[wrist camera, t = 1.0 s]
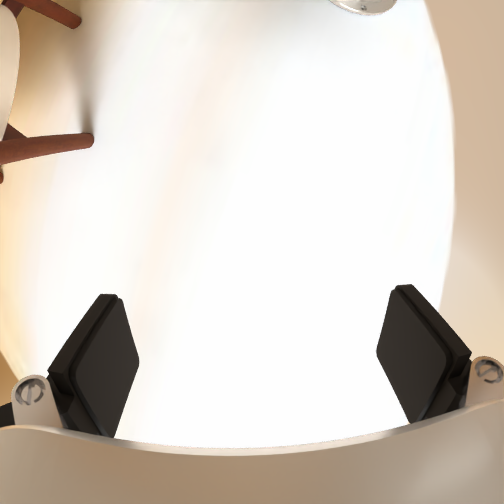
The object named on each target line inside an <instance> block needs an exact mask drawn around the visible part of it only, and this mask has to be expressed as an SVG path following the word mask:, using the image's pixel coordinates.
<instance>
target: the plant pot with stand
mask: <svg viewBox="0 0 504 504" xmlns="http://www.w3.org/2000/svg"><path fill="white" fill-rule="evenodd" d="M24 6H26V7H28V8H30V9H32V10H35V11H37V12H39V13H41V14H43V15H45V16H47V17H49V18H52V19H54V20H56V21H58V22H60V23H62V24H64V25H65V26H67V27H69V28H71V29H75V28H77V27H78V26H79V25H80V23H81V18H80V17H78V16H77V15H75V14H73V13H72V12H70V11H69V10H67V9H65V8H63V7H62V6H60V5H58V4H57V3H55V2H53V1H51V0H3V2H2V3H1V4H0V165H3V164H7V163H11V162H15V161H20V160H24V159H29V158H34V157H39V156H44V155H49V154H55V153H60V152H66V151H72V150H79V149H85V148H90V147H91V146H92V145H93V143H94V137H93V135H92V134H90V133H79V134H63V135H50V136H39V137H30V138H27V137H26V136H24V135H23V134H21V133H20V132H19V131H17V130H16V129H15V128H13V127H12V126H11V125H9V124H8V119H9V115H10V112H11V107H12V103H13V99H14V94H15V89H16V83H17V77H18V69H19V58H20V38H19V30H18V25H17V22H16V17H17V16H18V14H19V13H20V11H21V10H22V8H23V7H24ZM2 182H3V174H2V173H1V172H0V184H1V183H2Z"/></svg>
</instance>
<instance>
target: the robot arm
mask: <svg viewBox="0 0 504 504" xmlns="http://www.w3.org/2000/svg"><path fill="white" fill-rule="evenodd" d="M329 1H330V2H332V3H333V4H335V5H337V6H339V7H340V8H342V9H345V10H347V11H350V12H352V13H356V14H360V15H378V14H382V13H384V12H386V11H388V10H389V9H391V8H392V7H393V6H394V5H395V3H396V1H397V0H329ZM376 353H377V358H378V360H379V362H380V364H381V365H382V367H383V369H384V371H385V373H386V375H387V377H388V379H389V381H390V383H391V385H392V387H393V390H394V392H395V394H396V396H397V398H398V400H399V402H400V404H401V406H402V408H403V410H404V412H405V415H406V417H407V419H408V421H409V423H410V424H408V425H405V426H401V427H397V428H393V429H389V430H385V431H381V432H376V433H372V434H367V435H362V436H357V437H351V438H345V439H339V440H333V441H326V442H319V443H311V444H302V445H292V446H279V447H263V448H198V447H181V446H169V445H159V444H150V443H142V442H135V441H128V440H121V439H115V438H114V436H115V434H116V430H117V427H118V424H119V421H120V418H121V415H122V412H123V409H124V406H125V403H126V401H127V398H128V395H129V392H130V389H131V386H132V383H133V381H134V378H135V375H136V372H137V370H138V367H139V356H138V353H137V350H136V347H135V343H134V340H133V337H132V333H131V330H130V326H129V323H128V319H127V315H126V312H125V308H124V304H123V301H122V299H120V298H118V297H117V295H116V294H100V295H99V296H98V298H97V299H96V300H95V302H94V303H93V304H92V306H91V307H90V308H89V310H88V311H87V312H86V314H85V315H84V317H83V318H82V319H81V321H80V322H79V324H78V325H77V327H76V328H75V329H74V331H73V332H72V334H71V335H70V337H69V338H68V340H67V341H66V342H65V344H64V345H63V347H62V348H61V350H60V351H59V353H58V354H57V356H56V358H55V359H54V361H53V362H52V364H51V365H50V367H49V368H48V370H47V371H48V373H49V375H48V377H47V378H45V377H43V376H40V375H30V376H27V377H25V378H23V379H21V380H20V381H19V382H18V383H17V384H16V385H15V386H14V388H13V390H12V393H11V400H12V402H10V403H8V404H5V405H3V406H0V504H504V366H503V365H502V364H501V363H500V362H498V361H497V360H496V359H493V358H491V357H487V356H482V357H477V358H476V359H474V360H473V361H471V360H470V359H469V358H470V356H471V354H472V352H471V351H470V350H469V348H468V347H467V346H466V345H465V343H464V342H463V341H462V340H461V339H460V337H459V336H458V335H457V334H456V333H455V331H454V330H453V329H452V328H451V327H450V326H449V325H448V323H447V322H446V321H445V320H444V319H443V318H442V316H441V315H440V314H439V313H438V312H437V311H436V310H435V309H434V307H433V306H432V305H431V304H430V303H429V302H428V301H427V300H426V299H425V298H424V297H423V295H422V294H421V293H420V292H419V291H418V290H417V289H416V288H415V287H414V286H413V285H412V284H407V285H397V286H396V287H395V289H394V290H392V291H391V294H390V298H389V302H388V306H387V311H386V315H385V319H384V323H383V327H382V330H381V334H380V338H379V342H378V345H377V349H376Z"/></svg>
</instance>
